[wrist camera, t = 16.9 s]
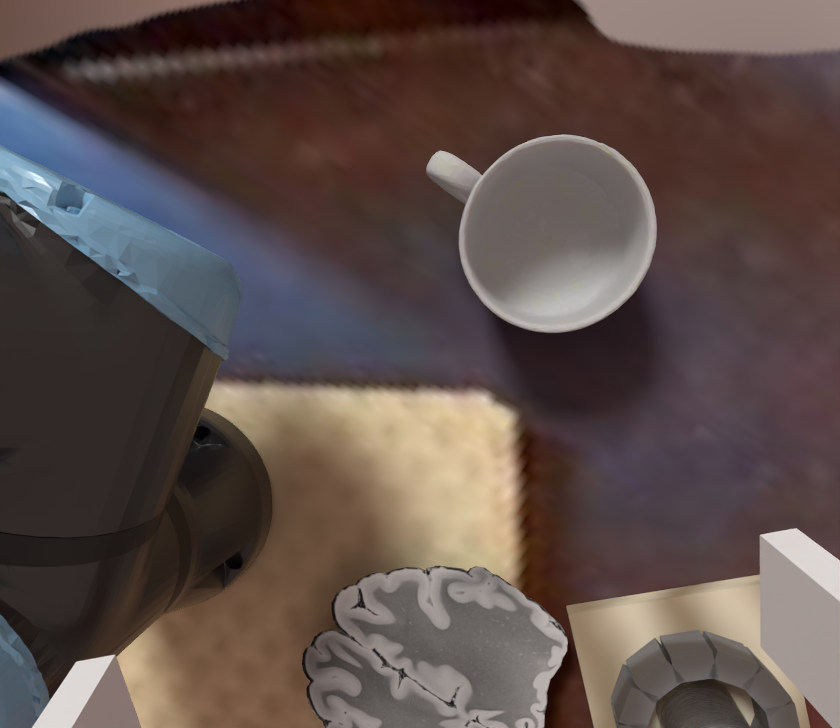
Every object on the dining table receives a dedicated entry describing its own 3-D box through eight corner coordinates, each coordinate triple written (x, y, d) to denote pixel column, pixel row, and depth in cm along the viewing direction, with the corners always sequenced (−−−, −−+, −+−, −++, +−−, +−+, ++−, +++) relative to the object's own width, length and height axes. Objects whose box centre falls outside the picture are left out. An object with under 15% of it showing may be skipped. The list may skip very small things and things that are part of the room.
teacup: (659, 247, 39) (702, 229, 31) (543, 361, 40) (555, 373, 32) (510, 104, 39) (514, 51, 31) (400, 223, 41) (378, 201, 33)
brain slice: (397, 493, 43) (389, 507, 40) (597, 620, 42) (605, 643, 39) (271, 697, 45) (255, 724, 42) (455, 822, 44) (453, 858, 41)
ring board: (613, 813, 42) (624, 860, 39) (566, 605, 41) (573, 633, 38) (816, 791, 40) (848, 838, 37) (771, 572, 39) (799, 599, 36)
